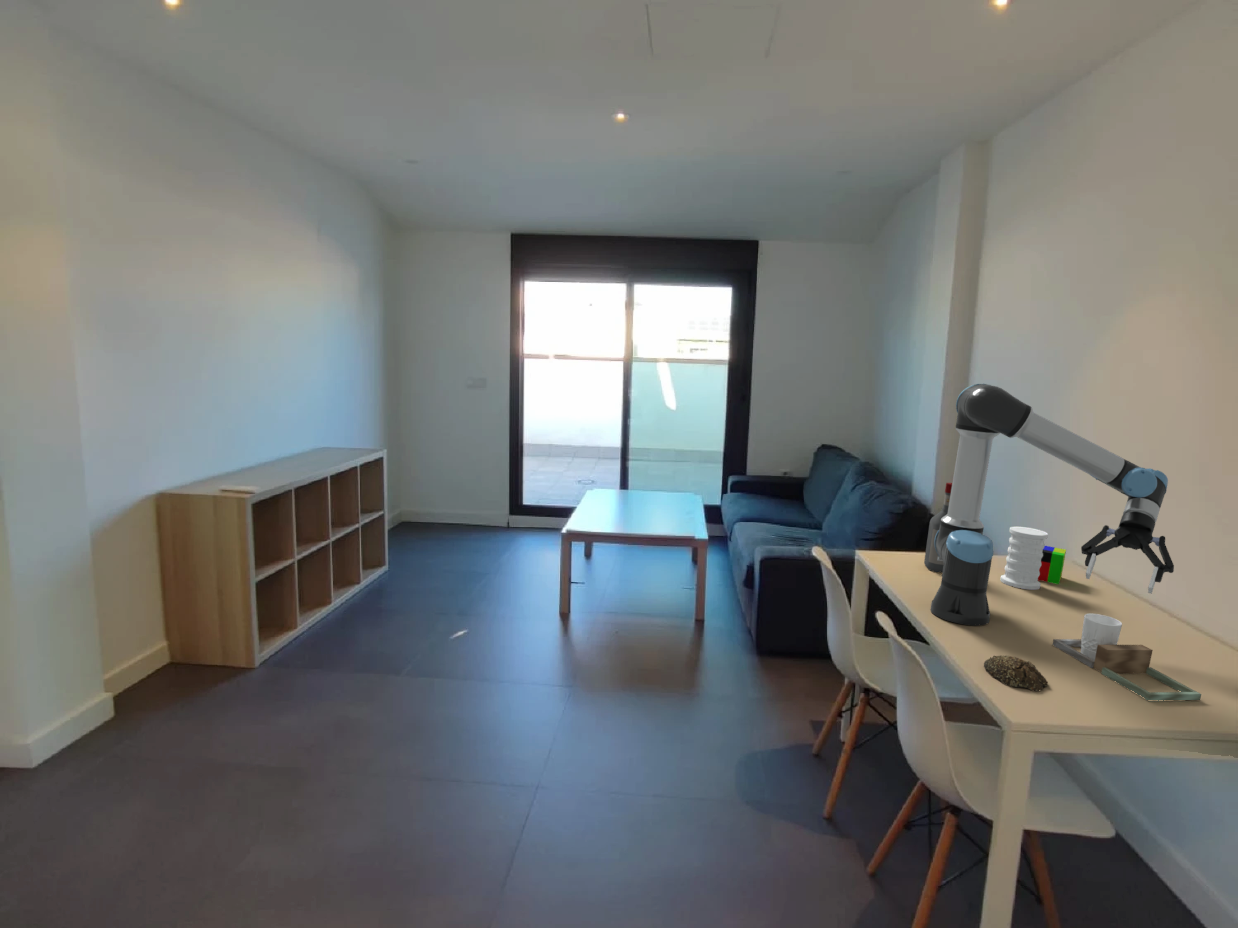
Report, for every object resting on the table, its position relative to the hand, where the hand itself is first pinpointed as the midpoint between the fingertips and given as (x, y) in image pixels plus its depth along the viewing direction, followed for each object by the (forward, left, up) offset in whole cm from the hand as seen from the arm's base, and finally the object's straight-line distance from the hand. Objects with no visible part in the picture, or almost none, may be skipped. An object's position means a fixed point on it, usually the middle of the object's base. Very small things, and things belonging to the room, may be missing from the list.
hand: (1117, 583), depth 185 cm
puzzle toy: (+24, +54, -17) cm, 61 cm away
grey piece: (-10, -15, -17) cm, 25 cm away
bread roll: (-40, -18, -17) cm, 47 cm away
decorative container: (+10, +47, -17) cm, 51 cm away
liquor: (-10, +61, -17) cm, 64 cm away
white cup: (-10, -8, -17) cm, 21 cm away
